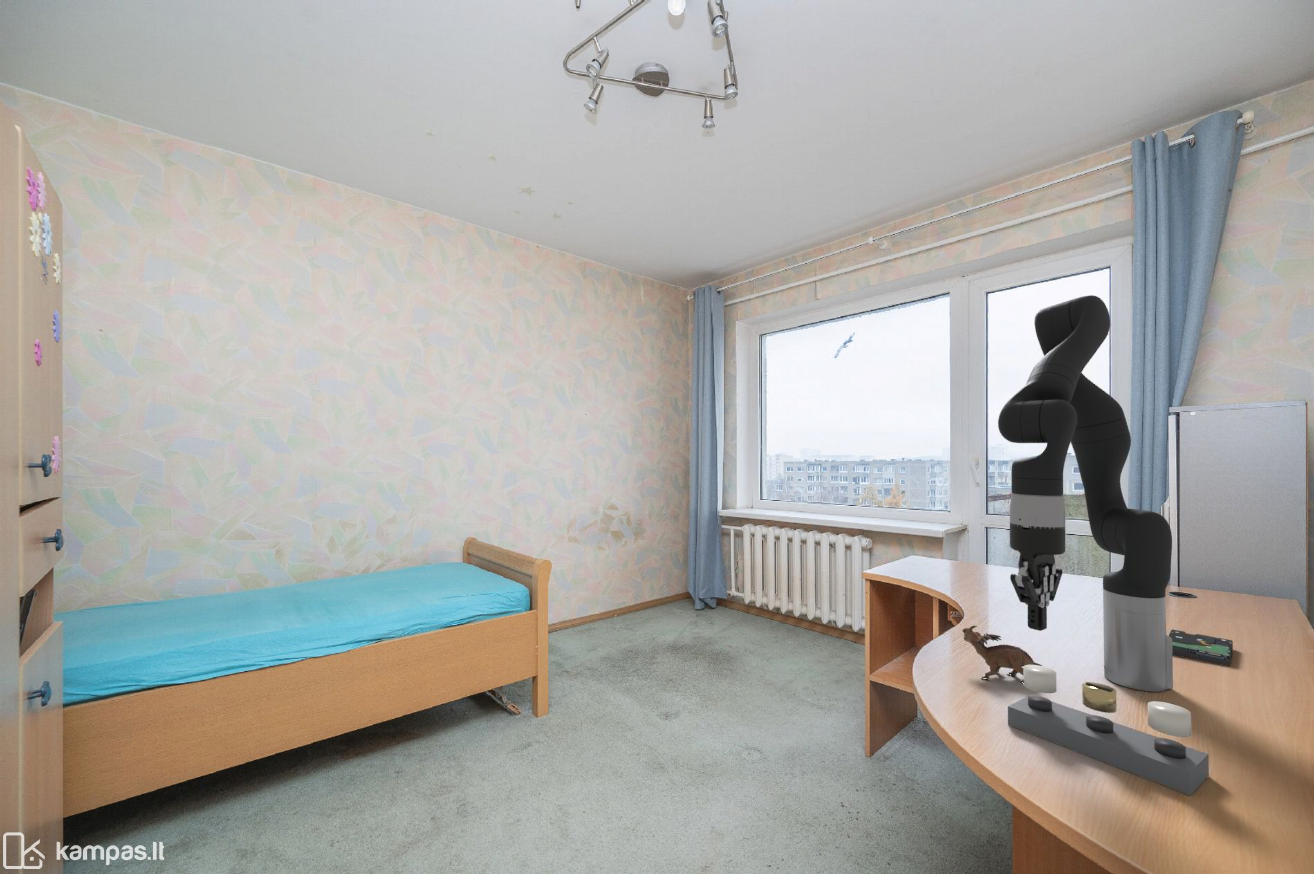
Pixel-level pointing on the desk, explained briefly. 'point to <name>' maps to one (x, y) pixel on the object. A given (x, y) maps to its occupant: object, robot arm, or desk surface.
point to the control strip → (1112, 743)
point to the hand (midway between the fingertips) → (1037, 628)
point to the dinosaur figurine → (998, 653)
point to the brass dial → (1099, 697)
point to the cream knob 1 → (1039, 678)
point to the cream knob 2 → (1169, 719)
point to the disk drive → (1201, 647)
